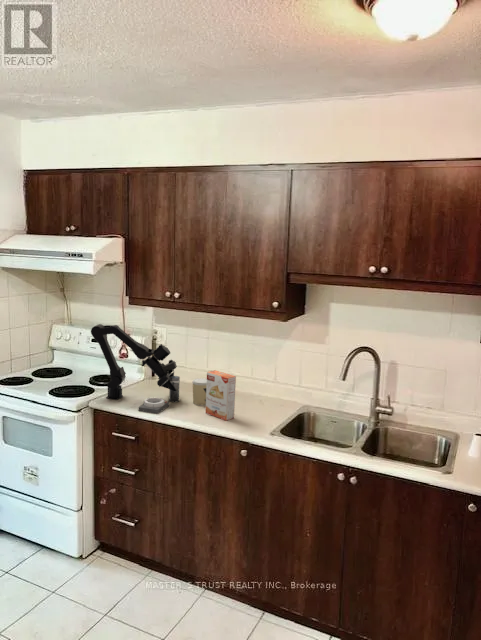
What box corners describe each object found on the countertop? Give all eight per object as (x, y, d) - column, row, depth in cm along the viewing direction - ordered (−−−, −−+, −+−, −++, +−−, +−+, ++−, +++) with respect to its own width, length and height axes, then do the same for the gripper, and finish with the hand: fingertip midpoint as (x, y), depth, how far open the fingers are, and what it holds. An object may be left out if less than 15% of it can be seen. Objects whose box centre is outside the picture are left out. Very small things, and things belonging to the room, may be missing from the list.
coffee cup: (207, 407, 260) (208, 383, 258) (189, 405, 262) (190, 382, 260) (211, 401, 269) (212, 379, 267) (194, 399, 271) (195, 377, 269)
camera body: (138, 411, 250) (138, 403, 249) (150, 403, 262) (150, 395, 261) (157, 413, 247) (157, 405, 246) (168, 405, 259) (169, 398, 258)
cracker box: (204, 413, 250) (206, 371, 247) (213, 410, 255) (215, 369, 251) (225, 421, 241) (227, 377, 238) (234, 418, 246) (236, 375, 242)
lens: (167, 401, 266) (167, 377, 264) (171, 398, 271) (172, 375, 269) (176, 402, 264) (177, 378, 262) (180, 399, 269) (181, 376, 267)
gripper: (164, 360, 255) (186, 383, 256) (170, 352, 273) (190, 373, 274) (148, 375, 256) (169, 397, 257) (155, 365, 274) (175, 387, 276)
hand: (177, 388), depth 266 cm, fingers open, 8 cm apart
